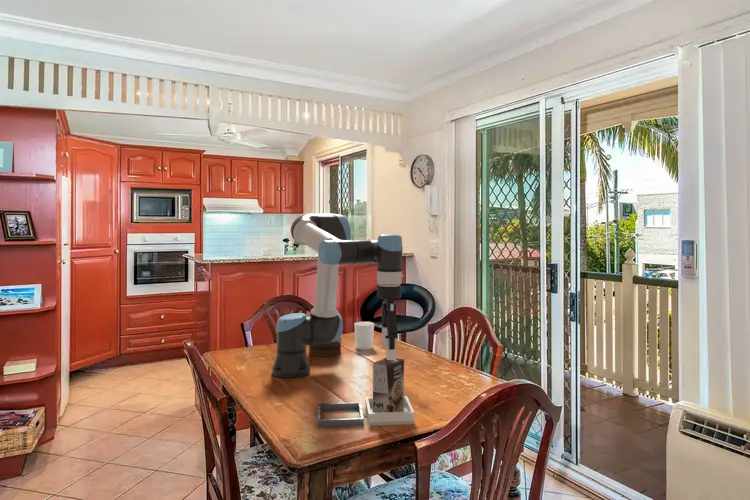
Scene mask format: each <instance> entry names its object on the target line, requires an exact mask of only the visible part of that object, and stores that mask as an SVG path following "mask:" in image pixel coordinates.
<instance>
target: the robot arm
mask: <svg viewBox="0 0 750 500" xmlns="http://www.w3.org/2000/svg"><path fill="white" fill-rule="evenodd" d="M351 232H352V231H351V226H350V223H349V220H348V219H347V217H346V216H345V215H343V214H338V213H306V214H301V215H299V216H298V217H296V218H295V219H294V221H293V222H292V223H291V226H290V235H291V237H292V239H293V241H295V243H298V244H300V245H302V246H308V248H310V249H312V250H313V251H314V252H316V253H317V267H316V281H315V282H316V284H315V296H314V298H315V299H314V307H313V308H312V309H310V313H309V314H310V315H309V316H307V315H306V313H303V312H296V313H287V314H284V315H282V316H280V317H279V318H278V319H277V321H276V329H275V331H276V355H275V359H274V362H273V364H272V370H271V371H272V373H271V374H272V375H273V376H274V377H277V378H285V379H293V378H295V379H296V378H300V377H304V376H307V375H309V374H310V373H311V364H310V361H309V358H308V355H307V346H309V345H313V344H322V343H330V342H335V341H337V340H338V339H339V338H340V337H341V338H342V334H343V330H344V323H343V321H344V320H343V317H342V315H341V316H340V315H339V314H340V312H339V311H338V309H337V308H336V305H337V294H338V280H339V268H340V267H339V266H340V265H358V264H363V265H364V264H377V265H376V266H377V270H376V283H377V287H376V297H377V298H379V299H382V303H381V307H382V308H381V309H382V310H381V321H380V323H381V326H382V327H381V348H382V349H383V348H384V349H386V357H387V360H396V358H397V339H398V337H399V334H398V326H397V325H398V324H397V323H398V321H397V303H395V300H397V299H398V300H399V299H401V298H402V295H403V294H402V290H403V287H402V286H401V285H402V284H403V283H402V280H403V279H402V278H404V274H403V272H402V271H403V249H404V248H403V247H404V246H403V237H402V236H401V235H399V234H379V235H378V237H377V240H376V239H373V238H372V239H353V240H352V239H351V238H352V237H351V236H352V235H351Z"/></svg>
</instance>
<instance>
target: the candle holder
mask: <svg viewBox="0 0 750 500" xmlns="http://www.w3.org/2000/svg"><path fill="white" fill-rule="evenodd" d="M353 323H354V324H353V325H354V338H355V339H354V340H355V349H357V350H360V351H362V350H363V351H369V350H371V349H373V347H374V335H375V333H374V332H375V331H374V329H375V323H374V322H372V321H357V322H356V321H355V322H353Z"/></svg>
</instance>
